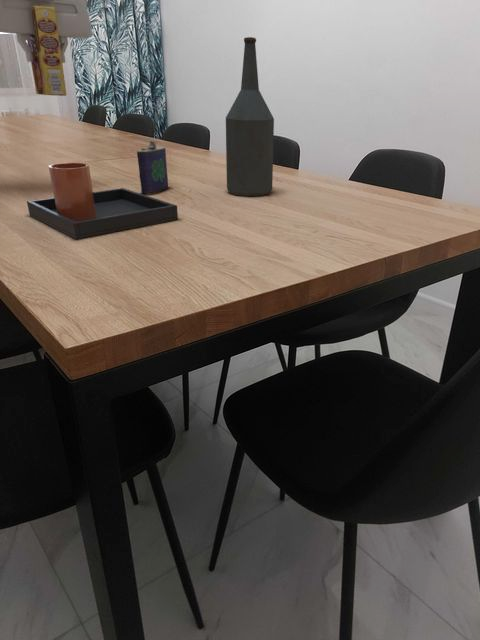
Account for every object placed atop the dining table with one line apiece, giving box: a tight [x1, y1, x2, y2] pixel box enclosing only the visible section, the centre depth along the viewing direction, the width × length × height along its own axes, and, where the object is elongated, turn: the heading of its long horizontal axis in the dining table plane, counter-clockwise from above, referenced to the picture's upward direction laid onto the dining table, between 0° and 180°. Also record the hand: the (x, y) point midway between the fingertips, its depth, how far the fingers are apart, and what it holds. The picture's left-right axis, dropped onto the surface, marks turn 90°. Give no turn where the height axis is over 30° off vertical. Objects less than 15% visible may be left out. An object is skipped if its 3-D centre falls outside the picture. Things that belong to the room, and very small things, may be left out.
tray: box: [26, 187, 179, 240], centre depth 92 cm, size 20×20×3 cm
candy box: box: [27, 5, 67, 97], centre depth 101 cm, size 9×4×15 cm, turn 35°
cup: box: [48, 162, 96, 222], centre depth 87 cm, size 6×6×9 cm
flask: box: [136, 139, 169, 196], centre depth 111 cm, size 9×3×11 cm, turn 157°
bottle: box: [225, 36, 275, 198], centre depth 107 cm, size 10×10×30 cm
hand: (46, 62), depth 102 cm, fingers closed on candy box, 4 cm apart
